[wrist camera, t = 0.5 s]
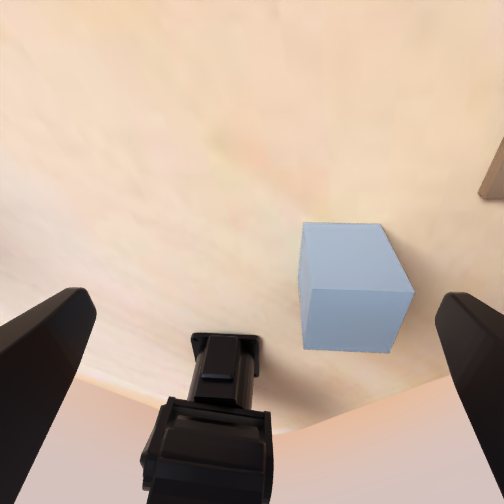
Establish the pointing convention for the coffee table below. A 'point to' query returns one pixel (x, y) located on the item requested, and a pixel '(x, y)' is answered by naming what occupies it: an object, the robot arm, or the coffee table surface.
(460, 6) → the coffee table surface
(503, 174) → the brown square stand
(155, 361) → the coffee table surface
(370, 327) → the pale blue foam brick
